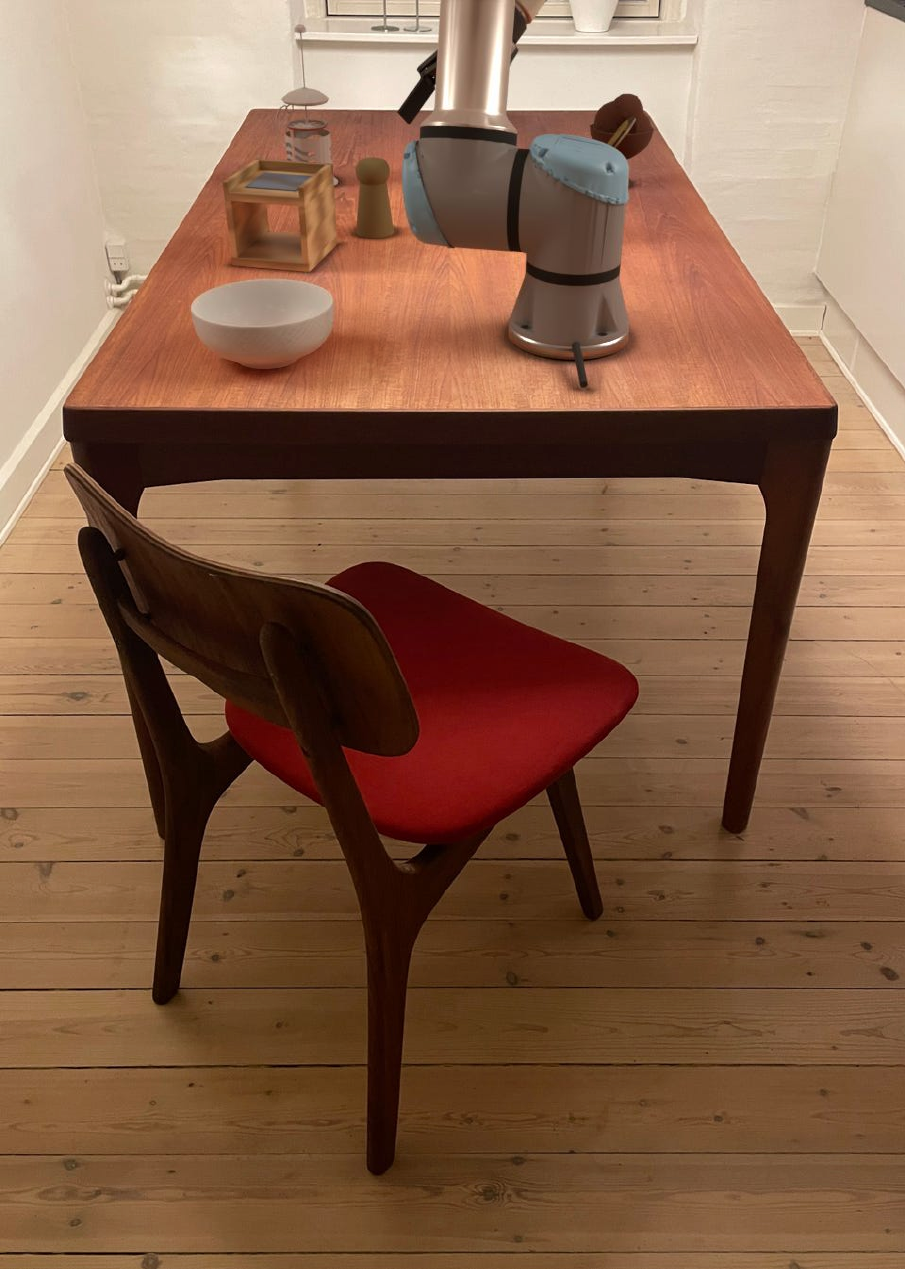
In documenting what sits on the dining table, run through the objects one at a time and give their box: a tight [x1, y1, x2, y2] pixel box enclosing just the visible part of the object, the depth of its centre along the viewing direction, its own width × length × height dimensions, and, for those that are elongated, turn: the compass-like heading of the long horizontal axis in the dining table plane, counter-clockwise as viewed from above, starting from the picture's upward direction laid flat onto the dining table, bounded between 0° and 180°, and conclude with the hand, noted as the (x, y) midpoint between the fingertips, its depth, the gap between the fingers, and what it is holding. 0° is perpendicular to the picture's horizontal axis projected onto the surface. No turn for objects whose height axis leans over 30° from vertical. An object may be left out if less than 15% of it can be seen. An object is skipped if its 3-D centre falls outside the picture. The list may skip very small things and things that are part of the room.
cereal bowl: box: [190, 278, 335, 370], centre depth 135 cm, size 17×17×7 cm
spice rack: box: [222, 157, 338, 273], centre depth 164 cm, size 13×12×12 cm
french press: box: [275, 23, 339, 186], centre depth 192 cm, size 10×12×25 cm
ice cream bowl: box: [589, 93, 655, 188], centre depth 194 cm, size 11×11×15 cm
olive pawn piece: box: [355, 156, 395, 239], centre depth 173 cm, size 6×6×11 cm
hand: (425, 127), depth 172 cm, fingers open, 13 cm apart
